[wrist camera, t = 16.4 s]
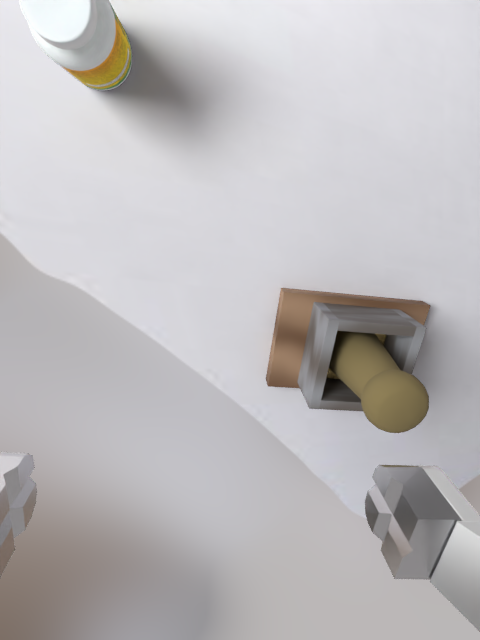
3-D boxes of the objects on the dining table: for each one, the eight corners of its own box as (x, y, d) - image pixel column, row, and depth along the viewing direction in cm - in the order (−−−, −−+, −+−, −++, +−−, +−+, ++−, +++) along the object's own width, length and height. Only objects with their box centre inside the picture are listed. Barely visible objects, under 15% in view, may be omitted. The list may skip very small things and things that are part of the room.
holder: (281, 287, 38) (295, 308, 32) (422, 301, 40) (461, 322, 34) (265, 379, 42) (276, 413, 36) (395, 387, 44) (425, 420, 38)
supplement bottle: (53, 61, 29) (-15, 8, 20) (85, -5, 28) (28, -92, 19) (113, 107, 31) (74, 77, 22) (146, 47, 29) (120, -11, 20)
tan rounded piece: (382, 323, 37) (449, 377, 27) (376, 374, 40) (435, 441, 29) (325, 326, 37) (371, 383, 27) (322, 378, 39) (363, 448, 29)
